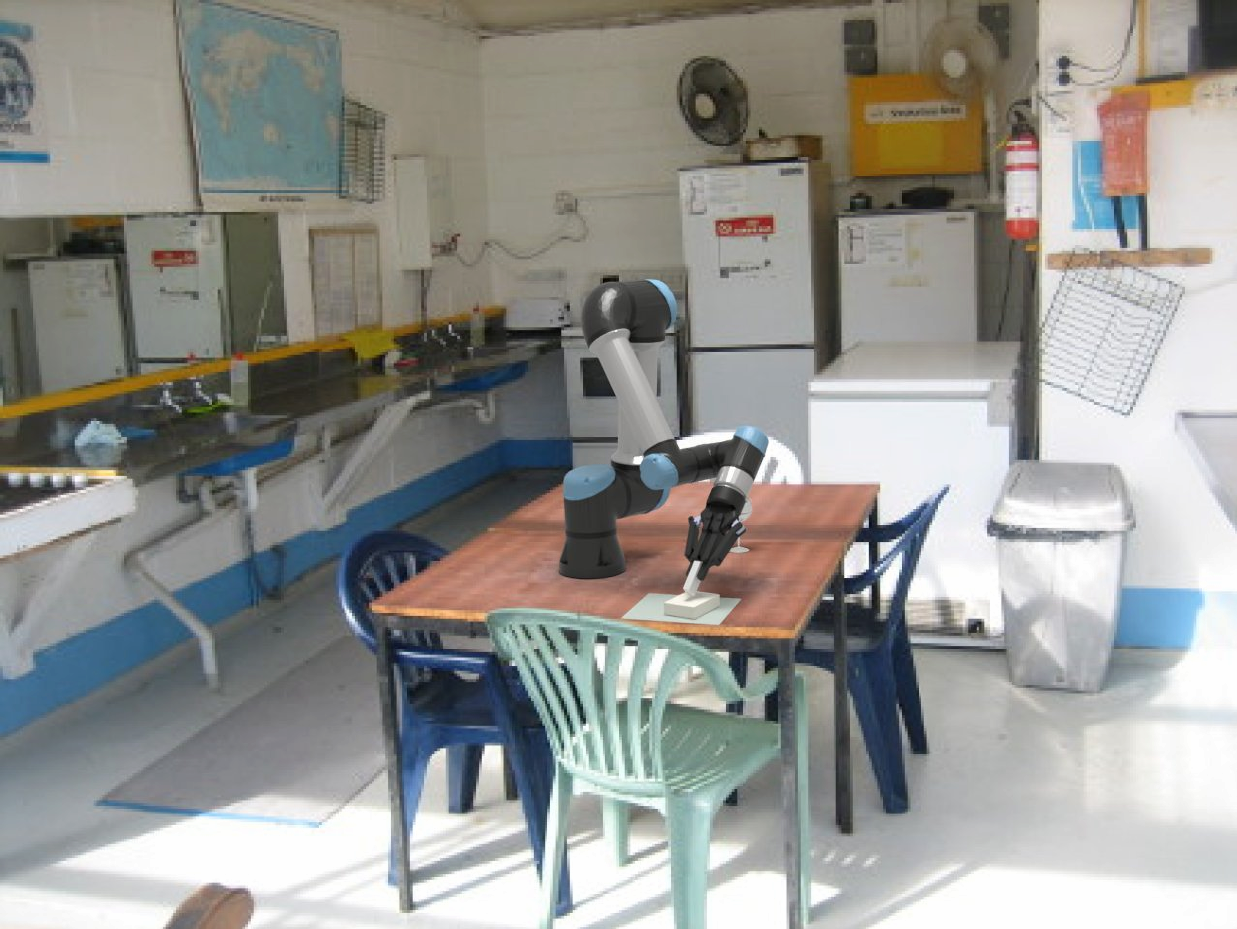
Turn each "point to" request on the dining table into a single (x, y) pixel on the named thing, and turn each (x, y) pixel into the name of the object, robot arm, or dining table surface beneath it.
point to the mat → (654, 611)
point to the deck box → (691, 605)
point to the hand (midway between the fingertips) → (688, 592)
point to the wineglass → (744, 516)
